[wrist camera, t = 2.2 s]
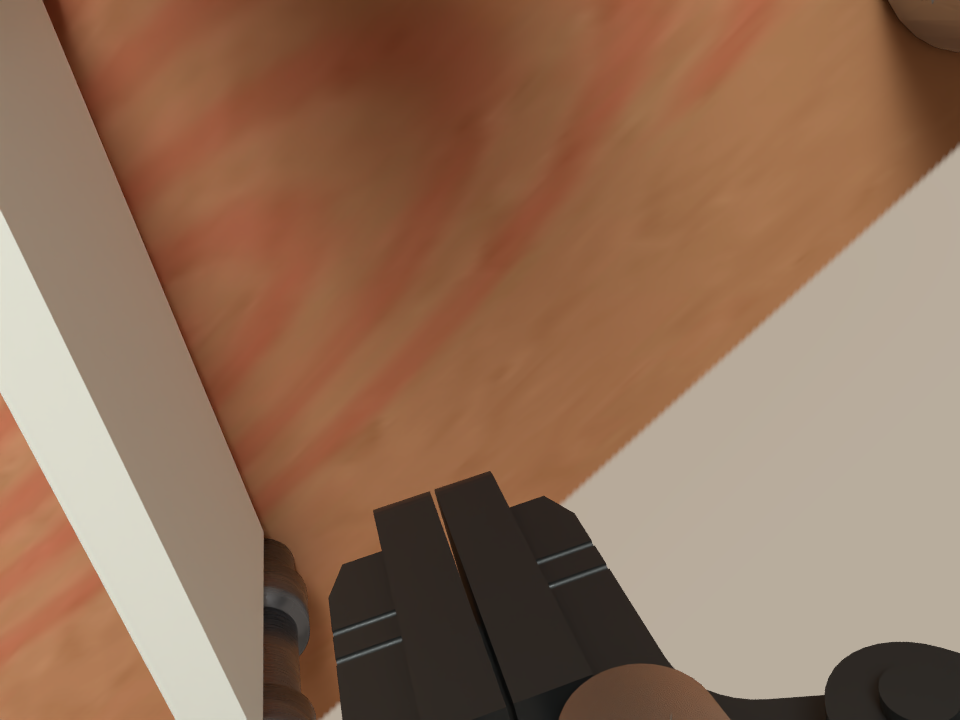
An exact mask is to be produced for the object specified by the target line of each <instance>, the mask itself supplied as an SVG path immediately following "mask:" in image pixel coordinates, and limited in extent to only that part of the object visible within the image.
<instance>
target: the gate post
mask: <svg viewBox="0 0 960 720" xmlns="http://www.w3.org/2000/svg"><path fill="white" fill-rule="evenodd" d="M309 635H310V626H309V612H308V598H307V589H306V585H305V583H304V581H303V579H302V578H301V576H300V575H299V574H298V573H297V572H296V571H295V568H294V558H293V555H292V553H291V551H290V550H289V549H288V548H287V547H286V546H285V545H284V544H282V543H280V542H278V541H275V540H272V539H264V581H263V720H316V714H315V711H314V708H313V706H312V704H311V702H310V701H309V700H308V699H307V698H306V697H305V696H304V695H303V694H302V693H301V684H300V665H299V656H300V655H301V654H302V652H303V651H304V649H305V647H306V645H307V643H308V640H309Z"/></svg>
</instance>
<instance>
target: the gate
mask: <svg viewBox="0 0 960 720" xmlns="http://www.w3.org/2000/svg"><path fill="white" fill-rule="evenodd" d="M0 392H1V394H2V396H3V398H4V400H5V402H6V404H7V406H8V407H9V409H10V411H11V413H12V415H13V417H14V419H15V420H16V422H17V424H18V426H19V428H20V430H21V432H22V434H23V435H24V437H25V439H26V441H27V443H28V445H29V447H30V449H31V450H32V452H33V454H34V456H35V458H36V460H37V462H38V463H39V465H40V467H41V469H42V471H43V473H44V475H45V477H46V478H47V480H48V482H49V484H50V486H51V488H52V490H53V492H54V493H55V495H56V497H57V499H58V501H59V503H60V505H61V506H62V508H63V510H64V512H65V514H66V516H67V518H68V520H69V521H70V523H71V525H72V527H73V529H74V531H75V533H76V534H77V536H78V538H79V540H80V542H81V544H82V546H83V548H84V549H85V551H86V553H87V555H88V557H89V559H90V561H91V563H92V564H93V566H94V568H95V570H96V572H97V574H98V576H99V577H100V579H101V581H102V583H103V585H104V587H105V589H106V591H107V592H108V594H109V596H110V598H111V600H112V602H113V604H114V606H115V607H116V609H117V611H118V613H119V615H120V617H121V619H122V620H123V622H124V624H125V626H126V628H127V630H128V632H129V634H130V635H131V637H132V639H133V641H134V643H135V645H136V647H137V649H138V650H139V652H140V654H141V656H142V658H143V660H144V662H145V663H146V665H147V667H148V669H149V671H150V673H151V675H152V677H153V678H154V680H155V682H156V684H157V686H158V688H159V690H160V692H161V693H162V695H163V697H164V699H165V701H166V703H167V705H168V706H169V708H170V710H171V712H172V714H173V716H174V718H175V720H263V581H264V532H263V529H262V527H261V524H260V522H259V520H258V517H257V515H256V512H255V510H254V508H253V505H252V503H251V500H250V498H249V496H248V493H247V491H246V488H245V486H244V484H243V481H242V479H241V476H240V474H239V472H238V469H237V467H236V464H235V462H234V460H233V457H232V455H231V452H230V450H229V448H228V445H227V443H226V440H225V438H224V436H223V433H222V431H221V428H220V426H219V424H218V421H217V419H216V416H215V414H214V412H213V409H212V407H211V404H210V402H209V400H208V397H207V395H206V392H205V390H204V388H203V385H202V383H201V380H200V378H199V375H198V373H197V371H196V368H195V366H194V363H193V361H192V359H191V356H190V354H189V351H188V349H187V347H186V344H185V342H184V339H183V337H182V335H181V332H180V330H179V327H178V325H177V323H176V320H175V318H174V315H173V313H172V311H171V308H170V306H169V303H168V301H167V299H166V296H165V294H164V291H163V289H162V287H161V284H160V282H159V279H158V277H157V275H156V272H155V270H154V267H153V265H152V263H151V260H150V258H149V255H148V253H147V251H146V248H145V246H144V243H143V241H142V239H141V236H140V234H139V231H138V229H137V227H136V224H135V222H134V219H133V217H132V215H131V212H130V210H129V207H128V205H127V203H126V200H125V198H124V195H123V193H122V191H121V188H120V186H119V183H118V181H117V179H116V176H115V174H114V171H113V169H112V167H111V164H110V162H109V159H108V157H107V155H106V152H105V150H104V147H103V145H102V142H101V140H100V138H99V135H98V133H97V130H96V128H95V126H94V123H93V121H92V118H91V116H90V114H89V111H88V109H87V106H86V104H85V102H84V99H83V97H82V94H81V92H80V90H79V87H78V85H77V82H76V80H75V78H74V75H73V73H72V70H71V68H70V66H69V63H68V61H67V58H66V56H65V54H64V51H63V49H62V46H61V44H60V42H59V39H58V37H57V34H56V32H55V30H54V27H53V25H52V22H51V20H50V18H49V15H48V13H47V10H46V8H45V6H44V3H43V1H42V0H0Z"/></svg>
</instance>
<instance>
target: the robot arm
mask: <svg viewBox="0 0 960 720" xmlns="http://www.w3.org/2000/svg"><path fill="white" fill-rule="evenodd" d="M888 1H889V3H890V5H891V7H892V8H893V10H894V12H895V13H896V15H897V17H898V19H899V20H900V21H901V22H902V23H903V24H904V25H905V26H906V27H907V28H908V29H909V30H910V31H911V32H912V33H913V34H914V35H915V36H916V37H918V38H919V39H921V40H923V41H925V42H927V43H928V44H930V45H932V46H934V47H936V48H940V49H945V50H949V51H953V52H960V0H888ZM435 494H436V498H437V501H438V505H439V508H440V511H441V515H442V518H443V521H444V525H445V528H446V531H447V535H448V538H449V541H450V545H451V548H452V551H453V555H454V558H455V561H456V564H455V561H454V558H453V555H452V553H451V550H450V547H449V544H448V541H447V539H446V536H445V533H444V530H443V527H442V524H441V522H440V519H439V516H438V513H437V510H436V508H435V505H434V502H433V499H432V496H431V494H430V491H429V492H426V493H423V494H420V495H417V496H414V497H411V498H408V499H405V500H402V501H399V502H396V503H393V504H390V505H387V506H384V507H381V508H378V509H375V510H373V513H374V518H375V522H376V526H377V531H378V535H379V540H380V544H381V549H382V551H381V552H378V553H375V554H372V555H369V556H366V557H363V558H360V559H357V560H355V561H352V562H349V563H346V564H343V565H342V567H341V569H340V572H339V574H338V577H337V579H336V581H335V584H334V586H333V589H332V591H331V593H330V596H329V607H330V616H331V624H332V632H333V635H334V638H333V641H334V650H335V659H336V662H337V666H336V667H337V676H338V684H339V693H340V702H341V710H342V719H343V720H960V653H958V652H954V651H951V650H947V649H944V648H940V647H936V646H931V645H927V644H921V643H913V642H889V643H881V644H876V645H872V646H869V647H865V648H863V649H860V650H858V651H856V652H854V653H852V654H850V655H849V656H847V657H846V658H844V659H843V660H842V661H841V662H840V663H839V664H838V665H837V666H836V667H835V668H834V670H833V671H832V673H831V675H830V676H829V678H828V681H827V685H826V687H825V695H820V696H806V697H793V698H779V699H763V700H762V699H759V700H750V699H740V698H733V697H729V696H724V695H720V694H717V693H714V692H711V691H708V690H706V689H705V688H704V687H703V686H702V685H701V684H700V683H698V682H697V681H696V680H694V679H693V678H692V677H690V676H688V675H686V674H684V673H682V672H680V671H678V670H675V669H674V668H673V667H672V666H671V664H670V663H669V662H668V661H667V659H666V658H665V656H664V655H663V653H662V652H661V650H660V649H659V647H658V645H657V644H656V642H655V641H654V639H653V637H652V636H651V634H650V633H649V631H648V630H647V628H646V626H645V625H644V623H643V621H642V620H641V618H640V617H639V615H638V614H637V612H636V611H635V609H634V607H633V606H632V604H631V602H630V601H629V599H628V598H627V596H626V595H625V593H624V592H623V590H622V588H621V587H620V585H619V583H618V582H617V580H616V579H615V577H614V575H613V574H612V572H611V571H610V569H608V568H607V566H606V563H605V561H604V560H603V558H602V556H601V555H600V553H599V552H598V550H597V548H596V547H595V546H593V544H592V541H591V539H590V537H589V536H588V534H587V533H586V531H585V529H584V528H583V526H582V525H581V523H580V522H579V520H578V518H577V517H576V515H575V513H573V512H571V511H569V510H567V509H566V508H564V507H562V506H561V505H559V504H557V503H555V502H554V501H552V500H550V499H548V498H547V497H545V496H542V497H539V498H536V499H533V500H530V501H528V502H525V503H522V504H519V505H516V506H513V507H510V508H509V506H508V504H507V502H506V500H505V498H504V496H503V494H502V492H501V490H500V488H499V486H498V484H497V482H496V480H495V478H494V476H493V475H492V473H491V472H490V471H489V472H486V473H483V474H480V475H477V476H474V477H471V478H468V479H465V480H462V481H459V482H456V483H453V484H449V485H446V486H443V487H440V488H437V489H435ZM456 565H457V567H456ZM457 568H458V570H457ZM458 571H459V572H458Z"/></svg>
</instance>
